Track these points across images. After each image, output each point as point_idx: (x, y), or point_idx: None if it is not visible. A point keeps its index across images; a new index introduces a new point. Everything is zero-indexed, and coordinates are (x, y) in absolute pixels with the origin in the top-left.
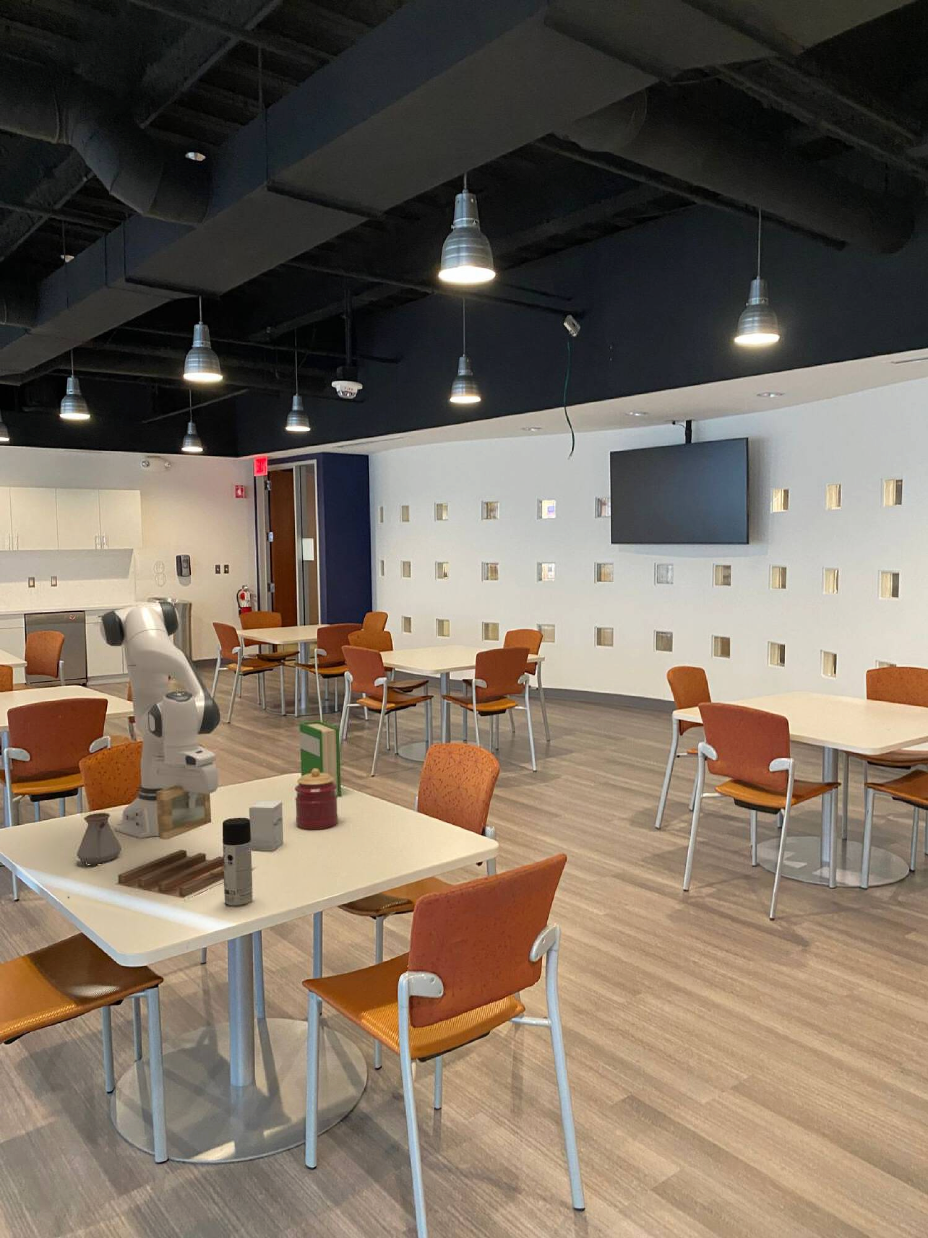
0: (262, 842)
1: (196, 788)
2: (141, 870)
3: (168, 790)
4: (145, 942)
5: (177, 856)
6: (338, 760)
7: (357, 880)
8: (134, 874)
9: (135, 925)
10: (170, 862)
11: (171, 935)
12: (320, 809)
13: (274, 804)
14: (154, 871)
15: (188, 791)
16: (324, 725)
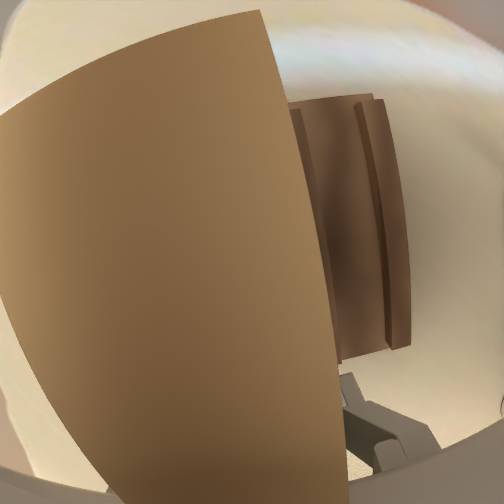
0: None
1: (7, 499)
2: (374, 172)
3: (69, 325)
4: (35, 20)
5: (389, 315)
6: None
7: (22, 412)
8: (368, 144)
9: (100, 20)
10: (384, 286)
11: (18, 61)
12: None
13: None
14: (373, 220)
15: (108, 496)
16: None
